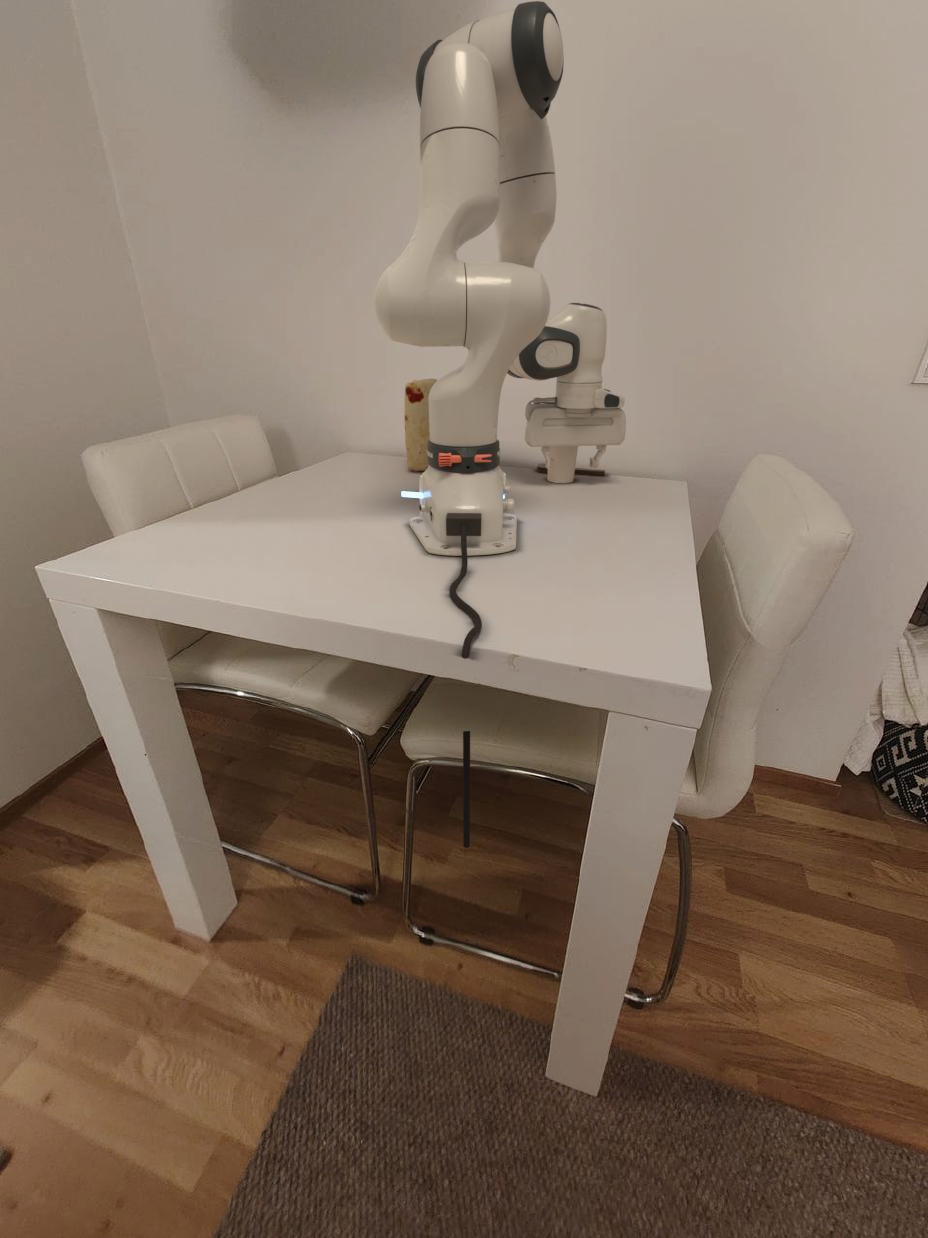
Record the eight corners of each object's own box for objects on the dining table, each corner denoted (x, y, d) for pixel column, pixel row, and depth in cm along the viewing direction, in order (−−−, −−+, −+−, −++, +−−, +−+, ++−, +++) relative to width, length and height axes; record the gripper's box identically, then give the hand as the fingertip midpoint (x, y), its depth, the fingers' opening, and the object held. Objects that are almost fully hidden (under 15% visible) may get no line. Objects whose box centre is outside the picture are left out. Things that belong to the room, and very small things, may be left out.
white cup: (539, 479, 126) (542, 433, 121) (556, 474, 130) (560, 429, 125) (564, 485, 122) (568, 437, 117) (581, 479, 126) (585, 432, 121)
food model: (413, 475, 130) (409, 380, 120) (401, 469, 135) (396, 378, 125) (451, 470, 134) (450, 378, 124) (438, 464, 139) (436, 376, 130)
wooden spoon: (605, 472, 131) (606, 467, 131) (603, 477, 128) (604, 472, 127) (538, 467, 136) (539, 462, 135) (534, 472, 132) (535, 466, 132)
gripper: (529, 399, 109) (525, 472, 115) (632, 398, 111) (623, 469, 117) (523, 395, 114) (519, 465, 121) (621, 394, 116) (613, 462, 123)
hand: (571, 467), depth 119 cm, fingers open, 8 cm apart
